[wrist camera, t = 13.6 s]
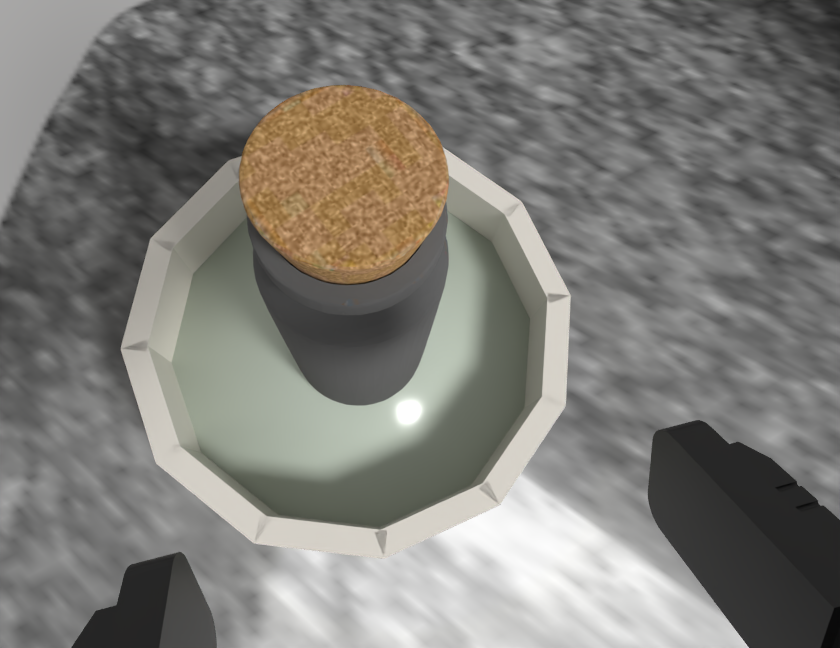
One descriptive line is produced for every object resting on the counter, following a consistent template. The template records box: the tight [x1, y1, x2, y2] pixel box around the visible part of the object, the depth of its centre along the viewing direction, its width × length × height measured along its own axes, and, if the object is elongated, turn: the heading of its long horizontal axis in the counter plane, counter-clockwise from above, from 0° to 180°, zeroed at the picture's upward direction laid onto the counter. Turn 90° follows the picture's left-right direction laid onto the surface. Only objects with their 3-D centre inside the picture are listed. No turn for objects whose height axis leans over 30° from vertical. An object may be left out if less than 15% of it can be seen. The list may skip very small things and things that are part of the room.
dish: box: [121, 148, 570, 559], centre depth 27 cm, size 18×18×4 cm
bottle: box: [239, 85, 449, 406], centre depth 21 cm, size 6×6×15 cm
